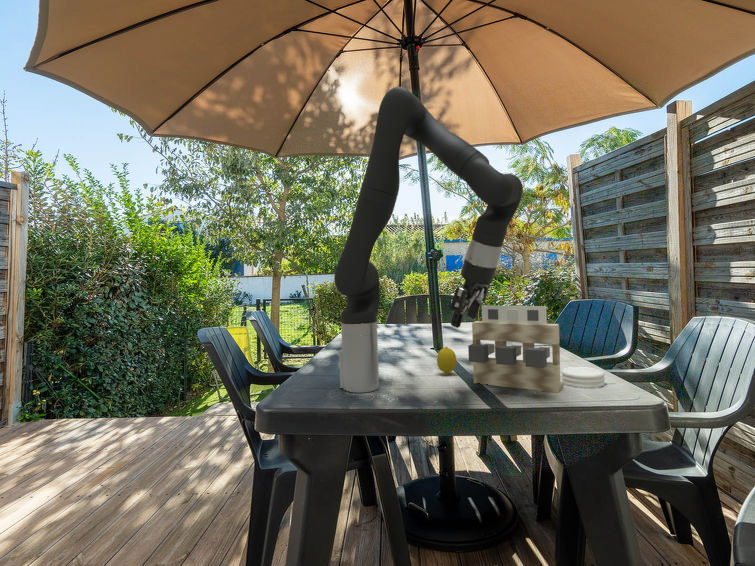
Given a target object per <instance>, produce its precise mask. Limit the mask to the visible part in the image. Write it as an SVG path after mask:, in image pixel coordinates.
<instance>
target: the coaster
mask: <svg viewBox="0 0 755 566" xmlns="http://www.w3.org/2000/svg"><path fill="white" fill-rule="evenodd" d="M605 374H606V373H605V372H604V371H603V370H601V369H599V368H594V367H587V366H586V367H585V366H571V367H565V368H562V369H561V382H563V385H565V386H567V387H571V386H572V388H577V387H580V388H579V389H595V388H594V387H599V388H602V387H601V386H603V387H604V386H605V384H606V383H605V379H606V378H605Z"/></svg>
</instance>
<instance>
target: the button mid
mask: <svg viewBox="0 0 755 566" xmlns="http://www.w3.org/2000/svg"><path fill="white" fill-rule="evenodd" d="M521 355H522V345H516V344H515V345H514V344H512V345H507V346H498V347H496V364H501V365H512V366H513V365H514V364H516V363H517V360H518V359H517V357H520V356H521Z"/></svg>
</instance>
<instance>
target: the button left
mask: <svg viewBox="0 0 755 566" xmlns="http://www.w3.org/2000/svg"><path fill="white" fill-rule="evenodd" d="M467 347H468V362H469V363H473V362H478V363H485V362H487V361H489V358H490V357H489V356H490V355H492V354H495V343H484V344H482V343H481V344H473V343H472V344H471V343H470V344H469V345H468V346H467ZM488 357H489V358H488Z"/></svg>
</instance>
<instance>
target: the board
mask: <svg viewBox="0 0 755 566" xmlns="http://www.w3.org/2000/svg"><path fill="white" fill-rule="evenodd" d="M471 327H472V328H471V329H472V330H471V332H472V333H471V334H472V337H471V338H472V344H482V343H481V342H482V341H490V342H491V341H492V342H494V348H495V352H494V356H495V357H489V356H488V358H489V361H487V362H485V363H478V362H472V364H473V367H472V368H473V384H477V383H480V384H479V385H486V384H488V385H487V386H497V387H504V388H512V389H513V388H514V389H520V390H530V391H539V392H545V393H546V392H547V393H555V394H558V393H559V392H560V391H561V390H562V389H563V388H564V384H563V382H562V381H561V354H560V353H561V348H560V324H559V323H547V325H537V324H509V323H482V320H476V321H473V322H471ZM510 342H511V343H522V359H517V363H516V364H514V365H513V366H512V365H501V364H496V347H498V346H508V345H507V344H508V343H510ZM535 344H542V345H551V347H552V348H551V350H552V362H549V361H547V366H546V367H545V368H535V367H526V359H525V349H527V348H529V347H530V348H535Z"/></svg>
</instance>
